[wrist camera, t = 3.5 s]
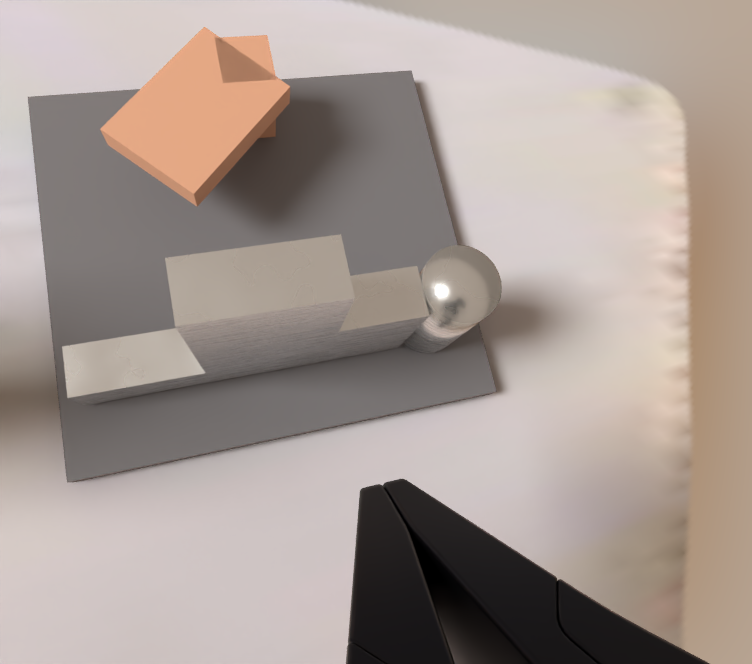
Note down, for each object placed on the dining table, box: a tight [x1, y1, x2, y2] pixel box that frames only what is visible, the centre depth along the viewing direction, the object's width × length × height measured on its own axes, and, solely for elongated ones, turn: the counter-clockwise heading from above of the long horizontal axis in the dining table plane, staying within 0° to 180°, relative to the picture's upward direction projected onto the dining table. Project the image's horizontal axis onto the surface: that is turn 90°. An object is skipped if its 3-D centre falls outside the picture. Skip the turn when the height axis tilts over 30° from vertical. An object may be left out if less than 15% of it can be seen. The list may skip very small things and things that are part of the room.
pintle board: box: [28, 27, 497, 482], centre depth 22 cm, size 16×17×5 cm
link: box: [62, 234, 502, 405], centre depth 18 cm, size 3×15×8 cm, turn 103°
